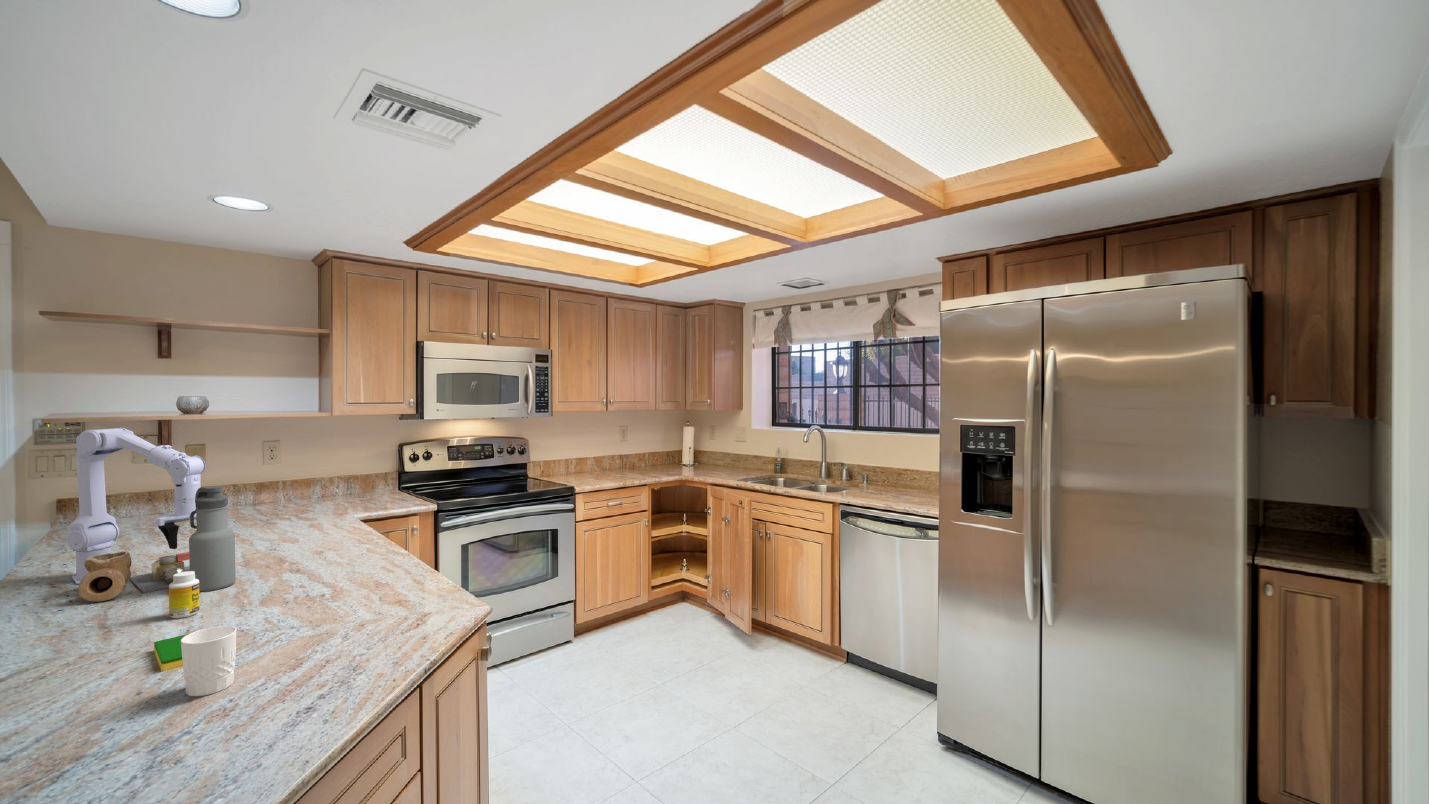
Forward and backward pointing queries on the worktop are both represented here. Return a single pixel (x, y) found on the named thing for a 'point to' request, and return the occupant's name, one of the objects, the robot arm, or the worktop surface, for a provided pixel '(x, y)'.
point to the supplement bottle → (184, 595)
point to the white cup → (209, 660)
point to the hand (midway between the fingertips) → (188, 545)
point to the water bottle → (212, 541)
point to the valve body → (166, 571)
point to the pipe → (105, 576)
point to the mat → (150, 582)
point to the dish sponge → (169, 653)
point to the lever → (174, 558)
